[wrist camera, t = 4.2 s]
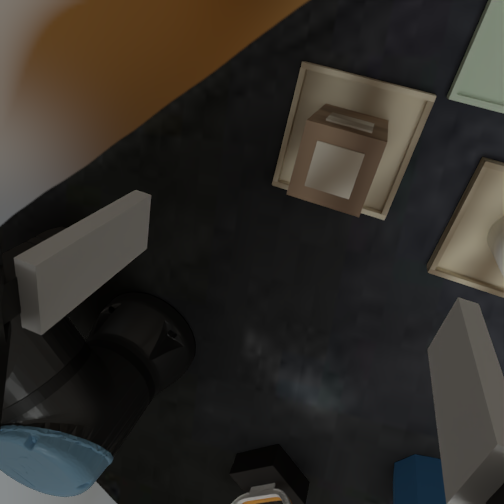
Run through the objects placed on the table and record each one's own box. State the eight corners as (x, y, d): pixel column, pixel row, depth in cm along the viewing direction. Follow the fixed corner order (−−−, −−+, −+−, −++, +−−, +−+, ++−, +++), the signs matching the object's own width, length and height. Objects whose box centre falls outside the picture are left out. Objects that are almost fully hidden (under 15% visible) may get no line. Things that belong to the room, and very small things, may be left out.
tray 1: (275, 180, 43) (271, 185, 42) (305, 61, 37) (302, 61, 36) (384, 214, 41) (384, 220, 40) (435, 94, 35) (436, 96, 34)
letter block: (308, 163, 41) (286, 195, 32) (326, 101, 38) (306, 118, 29) (366, 180, 40) (358, 218, 31) (389, 118, 37) (388, 140, 28)
